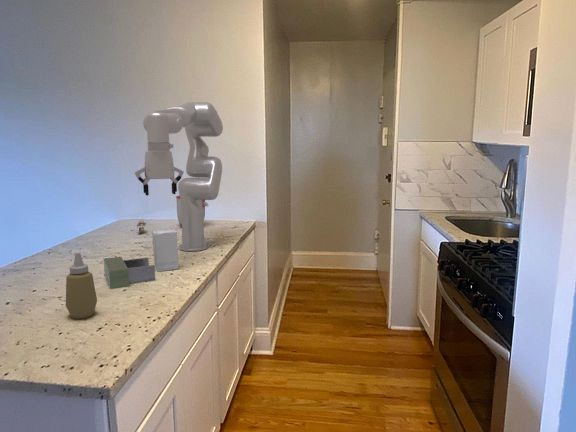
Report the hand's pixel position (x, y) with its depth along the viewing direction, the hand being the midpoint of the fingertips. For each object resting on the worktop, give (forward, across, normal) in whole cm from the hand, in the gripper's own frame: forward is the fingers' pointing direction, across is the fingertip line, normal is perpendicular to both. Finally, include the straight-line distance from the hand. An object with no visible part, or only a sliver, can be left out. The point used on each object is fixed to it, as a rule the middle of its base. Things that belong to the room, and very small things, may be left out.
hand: (160, 194), depth 164 cm
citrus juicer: (+28, -30, -72) cm, 83 cm away
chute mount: (+28, +13, +7) cm, 32 cm away
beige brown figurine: (+29, -2, -67) cm, 73 cm away
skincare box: (+29, -1, +1) cm, 29 cm away
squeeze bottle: (+29, +29, +36) cm, 54 cm away
